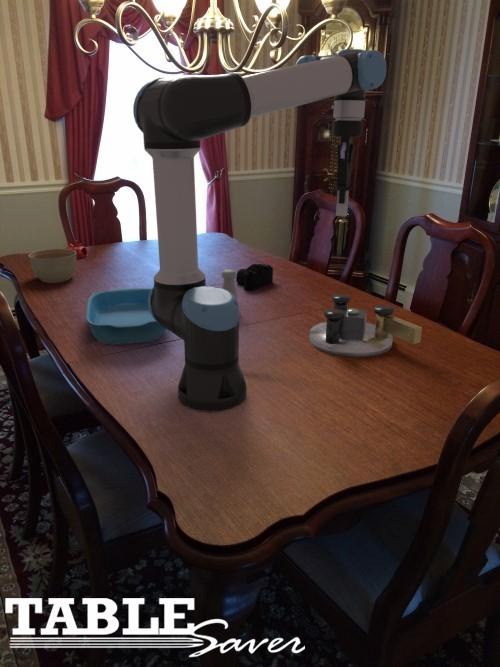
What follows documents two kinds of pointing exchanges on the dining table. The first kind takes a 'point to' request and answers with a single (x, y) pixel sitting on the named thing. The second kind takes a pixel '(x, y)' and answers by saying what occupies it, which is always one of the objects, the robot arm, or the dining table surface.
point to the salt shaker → (229, 281)
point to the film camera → (255, 276)
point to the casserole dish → (122, 316)
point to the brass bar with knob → (395, 326)
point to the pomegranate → (78, 250)
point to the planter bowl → (53, 264)
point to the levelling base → (351, 343)
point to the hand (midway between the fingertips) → (341, 215)
